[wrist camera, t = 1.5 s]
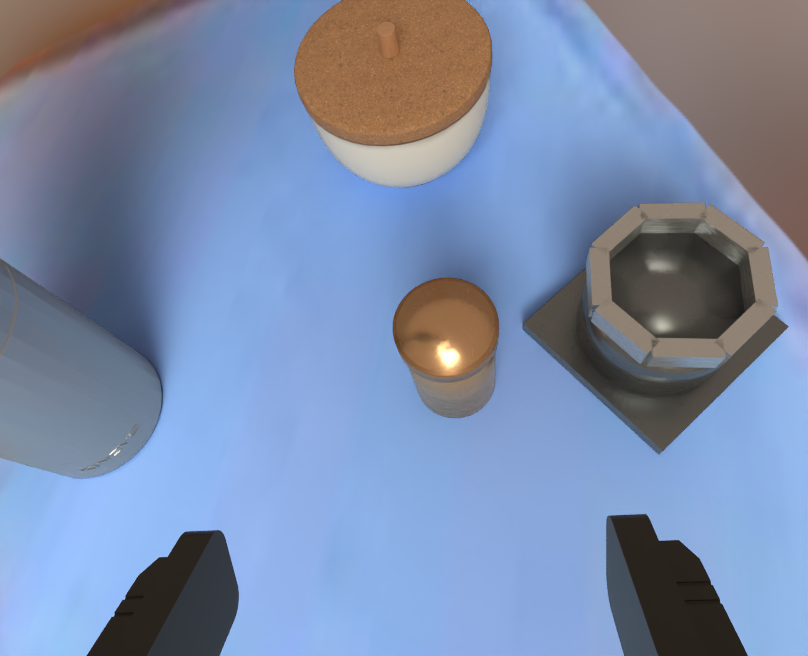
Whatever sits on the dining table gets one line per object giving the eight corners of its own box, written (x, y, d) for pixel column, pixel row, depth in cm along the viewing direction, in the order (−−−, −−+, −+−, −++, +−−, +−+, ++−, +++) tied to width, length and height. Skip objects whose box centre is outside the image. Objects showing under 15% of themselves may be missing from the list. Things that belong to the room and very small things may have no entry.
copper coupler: (396, 378, 41) (371, 323, 33) (457, 324, 42) (448, 258, 34) (452, 439, 39) (441, 396, 31) (516, 381, 40) (521, 325, 32)
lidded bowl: (326, 95, 51) (285, -28, 41) (483, 72, 50) (479, -61, 40) (329, 228, 46) (282, 125, 36) (502, 206, 45) (504, 93, 35)
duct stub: (523, 329, 41) (528, 275, 34) (639, 224, 43) (666, 154, 36) (658, 454, 37) (695, 421, 30) (781, 332, 39) (843, 276, 32)
